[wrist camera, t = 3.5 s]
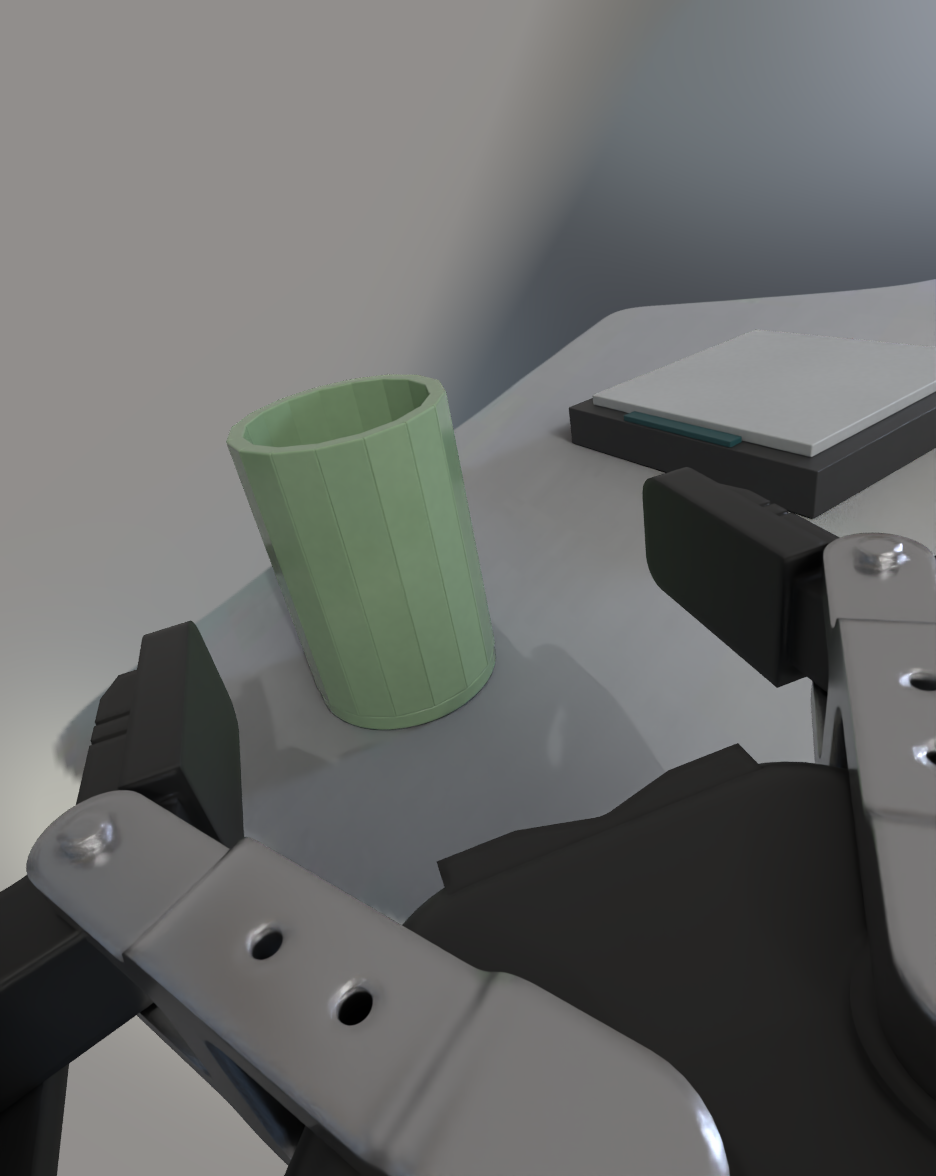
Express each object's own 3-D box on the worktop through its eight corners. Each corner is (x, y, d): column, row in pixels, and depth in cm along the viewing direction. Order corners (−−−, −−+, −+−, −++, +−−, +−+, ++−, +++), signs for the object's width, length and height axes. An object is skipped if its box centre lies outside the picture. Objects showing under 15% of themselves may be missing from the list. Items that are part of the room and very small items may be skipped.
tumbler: (368, 760, 23) (269, 473, 18) (296, 668, 28) (203, 424, 23) (531, 667, 25) (486, 392, 20) (438, 598, 30) (383, 364, 25)
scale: (813, 519, 30) (818, 458, 29) (572, 442, 43) (567, 397, 41) (1012, 403, 37) (1024, 348, 35) (751, 365, 49) (752, 323, 47)
